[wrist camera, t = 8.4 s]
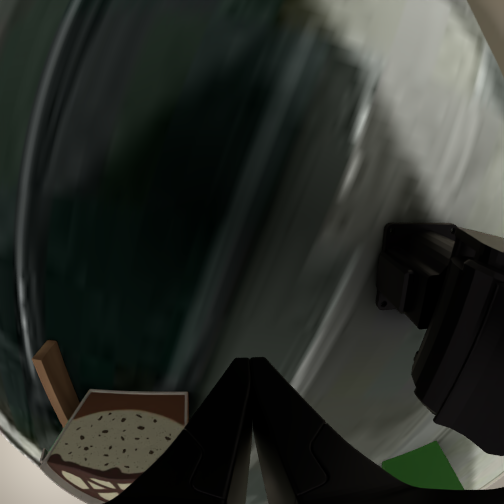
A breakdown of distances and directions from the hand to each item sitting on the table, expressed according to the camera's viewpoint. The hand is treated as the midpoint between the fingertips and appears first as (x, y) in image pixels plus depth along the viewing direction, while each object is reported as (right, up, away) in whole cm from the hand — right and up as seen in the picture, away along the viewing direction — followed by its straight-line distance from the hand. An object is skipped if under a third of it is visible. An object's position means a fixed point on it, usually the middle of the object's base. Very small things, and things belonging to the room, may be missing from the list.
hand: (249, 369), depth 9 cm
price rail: (-17, -12, +17) cm, 26 cm away
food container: (-10, -11, +17) cm, 23 cm away
